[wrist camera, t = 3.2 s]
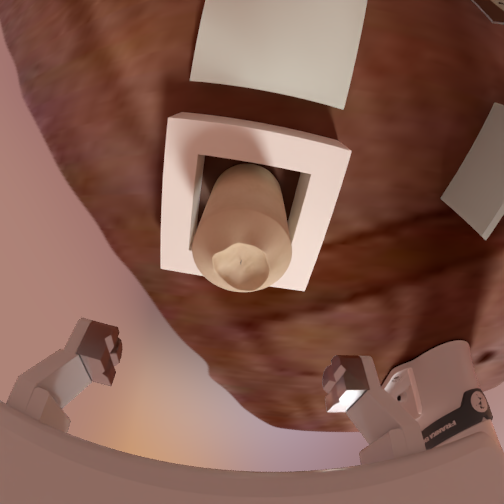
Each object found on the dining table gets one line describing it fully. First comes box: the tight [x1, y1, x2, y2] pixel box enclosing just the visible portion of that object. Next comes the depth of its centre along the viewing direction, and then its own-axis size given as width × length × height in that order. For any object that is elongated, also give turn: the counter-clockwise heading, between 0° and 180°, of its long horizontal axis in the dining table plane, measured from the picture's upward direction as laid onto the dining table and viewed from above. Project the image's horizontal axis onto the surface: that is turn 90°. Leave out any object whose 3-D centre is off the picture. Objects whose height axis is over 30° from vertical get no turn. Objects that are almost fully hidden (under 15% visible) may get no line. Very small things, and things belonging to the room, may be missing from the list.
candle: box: [192, 164, 292, 292], centre depth 19 cm, size 6×6×10 cm
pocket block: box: [161, 112, 352, 291], centre depth 22 cm, size 12×12×4 cm
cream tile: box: [190, 0, 367, 110], centre depth 15 cm, size 11×11×1 cm
